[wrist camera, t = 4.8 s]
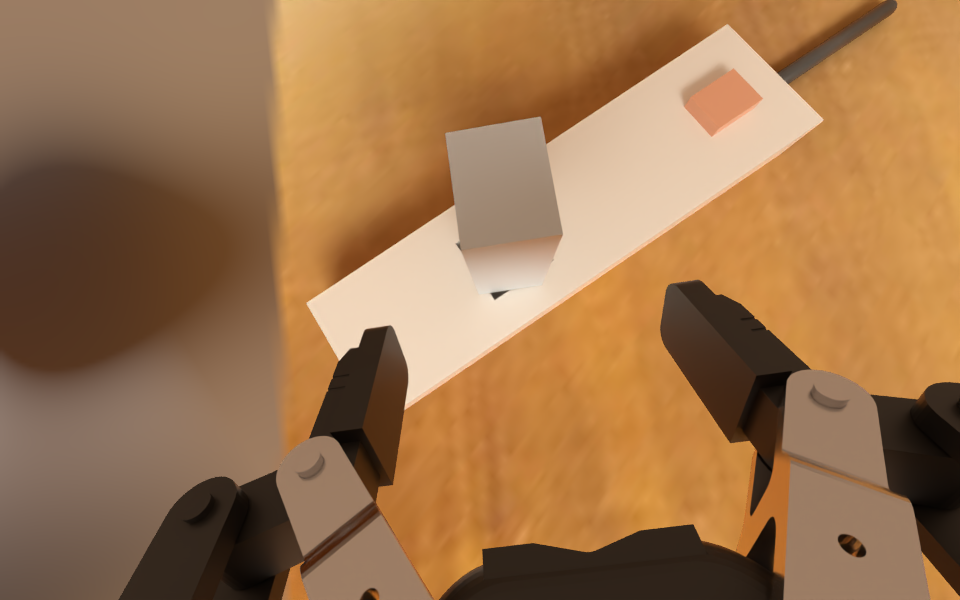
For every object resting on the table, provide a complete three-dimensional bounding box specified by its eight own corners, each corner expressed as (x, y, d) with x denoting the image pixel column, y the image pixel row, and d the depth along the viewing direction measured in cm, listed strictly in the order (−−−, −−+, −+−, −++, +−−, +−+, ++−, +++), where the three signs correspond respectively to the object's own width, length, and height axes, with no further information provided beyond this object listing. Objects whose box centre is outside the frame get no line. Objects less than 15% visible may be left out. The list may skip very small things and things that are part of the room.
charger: (470, 228, 23) (445, 132, 14) (527, 219, 23) (540, 116, 13) (480, 299, 22) (460, 250, 13) (539, 290, 22) (563, 234, 13)
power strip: (841, -26, 26) (905, -101, 22) (929, 52, 25) (1016, -13, 21) (334, 311, 25) (298, 300, 21) (395, 416, 23) (371, 427, 19)
